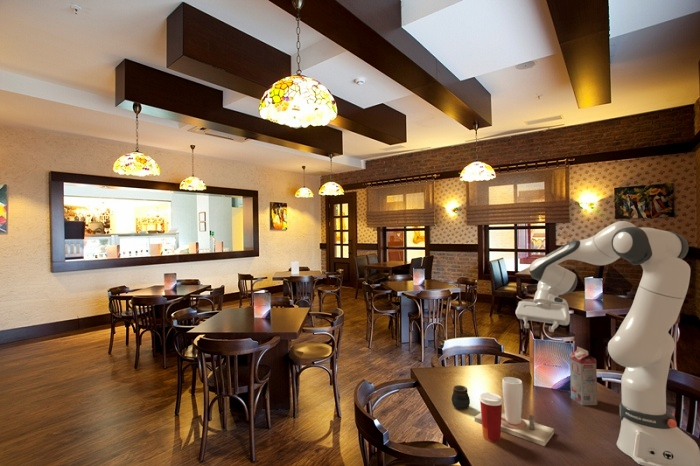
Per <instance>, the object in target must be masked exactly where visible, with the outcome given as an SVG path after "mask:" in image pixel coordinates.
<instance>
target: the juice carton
mask: <svg viewBox="0 0 700 466" xmlns="http://www.w3.org/2000/svg"><path fill="white" fill-rule="evenodd" d="M569 361H570V362H569V366H570V367H569V369H570V372H569V373H570V399H572V400H573V401H575V402H576V403H577V404H578V405H581V406H597V405H598V380H597V379H598V376H597V358H595V357H593V356H591V355H589V350H586V349H584V348H582V347H579V346H576V350H574V351H572V352H571V353H570V354H569Z"/></svg>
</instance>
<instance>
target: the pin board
mask: <svg viewBox="0 0 700 466" xmlns="http://www.w3.org/2000/svg"><path fill="white" fill-rule="evenodd" d="M474 421H475V422H476V423H478V424H481V425H482V417H481V411H480V412H479V413H478V414H476V415H475V416H474ZM501 432H504V433H506V434H509V435H512V436H515V437H518V438H521V439H523V440H525V441H529V442H531V443H535V444H537V445H540V446H542V447H546V445H547V443H548V442H549V441H550V439H551V438H552V437H553V435H555V428H553V427H550V426H546V425H544V424H540V423H537V422H535V416H534V415H532V414H531V415H529V419H524V418H522V417H521V423H520V424H518V425H513V424H510V423H508V422H507V421H506V420H505V411H504V412H503V411H502V417H501Z"/></svg>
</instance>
